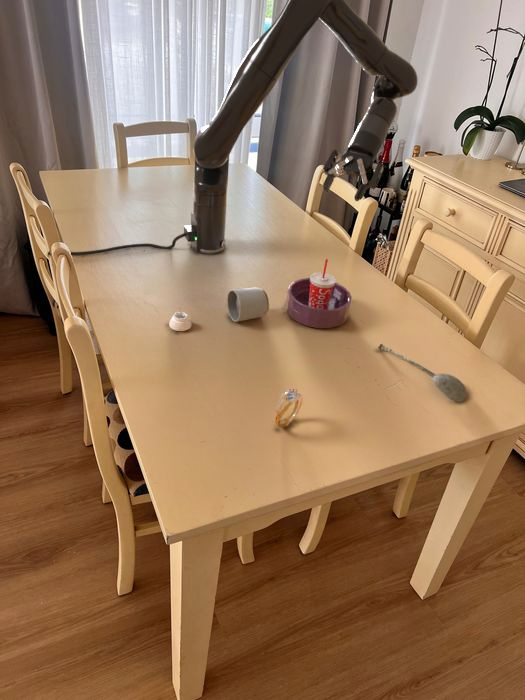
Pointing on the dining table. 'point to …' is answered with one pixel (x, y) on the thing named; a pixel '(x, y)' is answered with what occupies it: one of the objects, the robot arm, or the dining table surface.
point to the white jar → (180, 322)
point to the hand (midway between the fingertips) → (340, 194)
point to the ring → (289, 396)
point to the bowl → (314, 316)
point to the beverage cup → (321, 289)
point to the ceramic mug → (247, 303)
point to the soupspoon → (439, 380)
